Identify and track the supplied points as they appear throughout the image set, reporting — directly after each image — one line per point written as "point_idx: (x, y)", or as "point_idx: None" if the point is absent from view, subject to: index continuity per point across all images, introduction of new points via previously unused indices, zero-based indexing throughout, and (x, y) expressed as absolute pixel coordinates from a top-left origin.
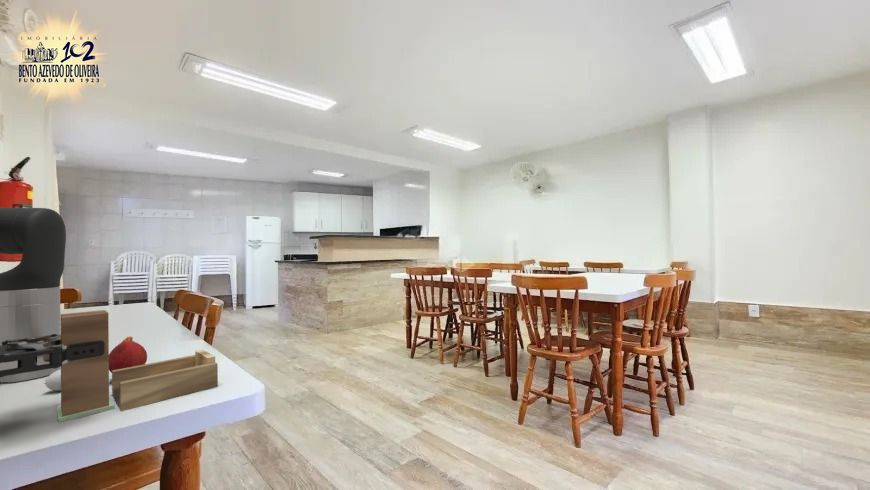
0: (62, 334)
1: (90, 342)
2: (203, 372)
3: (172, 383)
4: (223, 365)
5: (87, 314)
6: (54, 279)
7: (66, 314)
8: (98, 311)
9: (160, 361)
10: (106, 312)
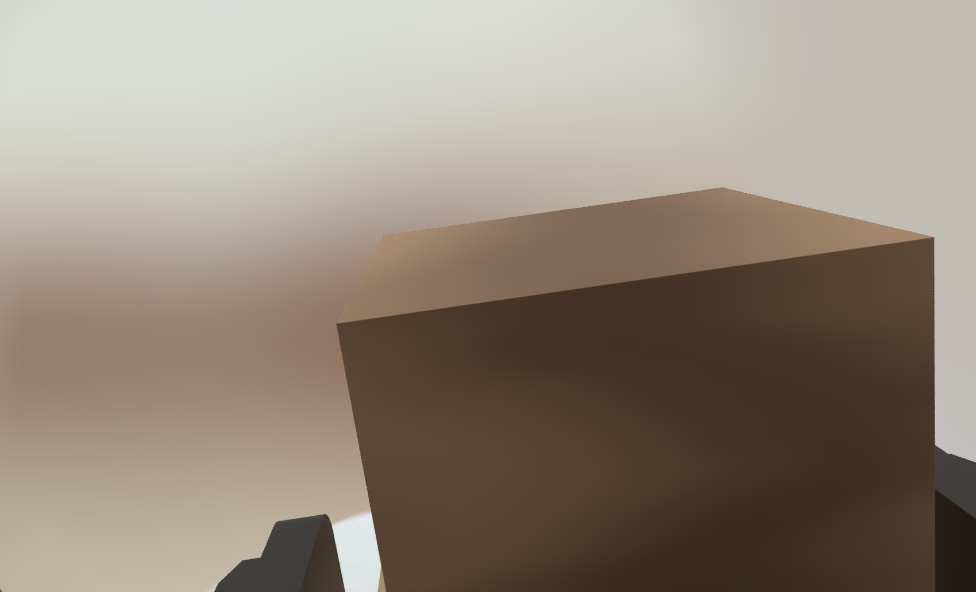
0: (929, 494)
1: (962, 463)
2: None
3: None
4: (341, 525)
5: (726, 212)
6: None
7: (483, 286)
8: (480, 230)
9: (382, 585)
10: (659, 198)
